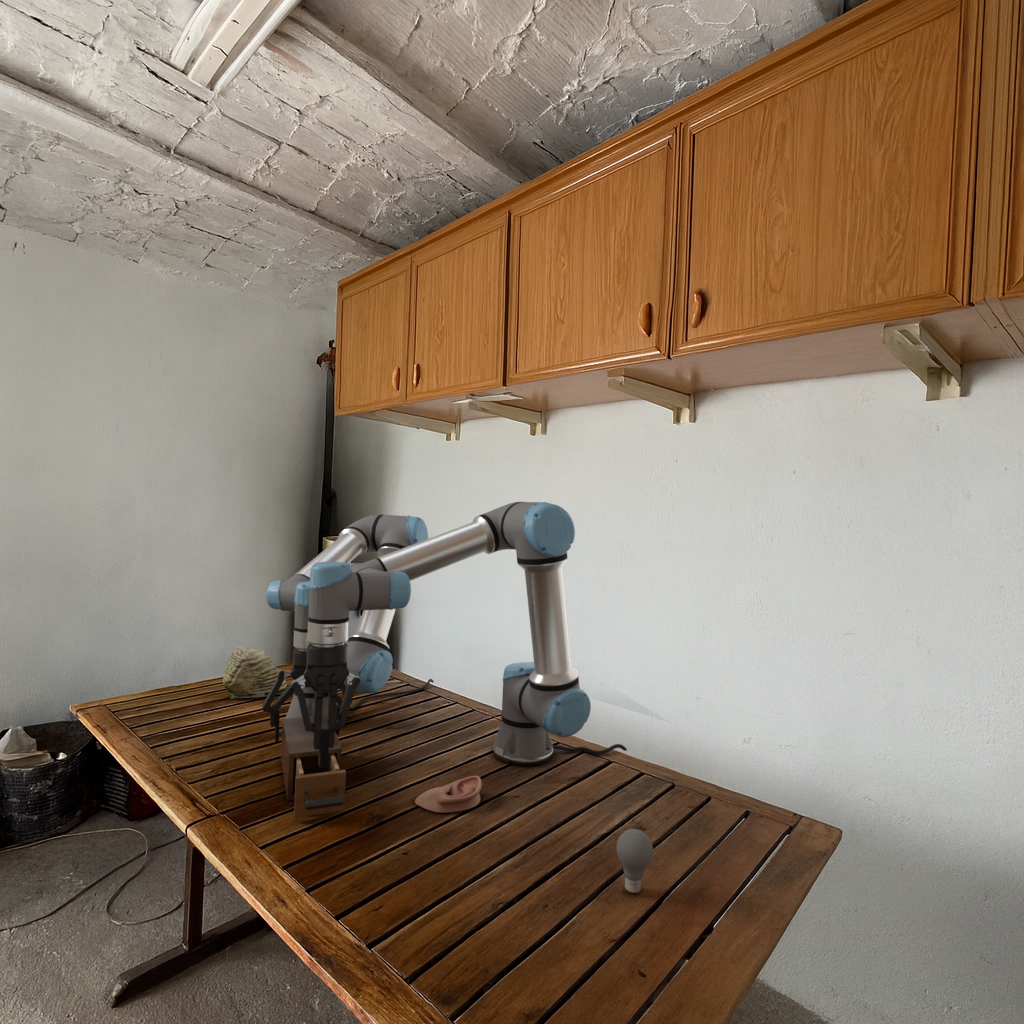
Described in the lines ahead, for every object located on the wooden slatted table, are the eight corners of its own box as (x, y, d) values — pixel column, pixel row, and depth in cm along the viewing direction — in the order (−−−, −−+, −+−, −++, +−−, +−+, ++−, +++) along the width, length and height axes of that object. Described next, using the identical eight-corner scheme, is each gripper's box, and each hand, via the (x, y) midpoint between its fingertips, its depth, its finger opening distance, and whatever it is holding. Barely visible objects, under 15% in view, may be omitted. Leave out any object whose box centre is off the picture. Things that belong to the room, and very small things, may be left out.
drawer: (349, 825, 121) (351, 785, 121) (297, 834, 117) (298, 792, 117) (331, 769, 145) (332, 735, 145) (287, 774, 141) (288, 740, 141)
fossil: (218, 695, 195) (220, 647, 195) (278, 685, 208) (279, 640, 207) (228, 703, 189) (230, 653, 188) (289, 692, 201) (290, 645, 201)
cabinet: (340, 793, 136) (342, 747, 136) (287, 800, 131) (289, 753, 131) (327, 754, 155) (328, 714, 155) (280, 759, 151) (282, 719, 151)
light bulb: (610, 879, 108) (613, 822, 108) (644, 879, 109) (647, 822, 109) (619, 902, 102) (622, 840, 102) (655, 901, 103) (658, 840, 103)
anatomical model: (409, 789, 130) (428, 766, 141) (409, 808, 130) (427, 784, 141) (472, 798, 127) (486, 774, 138) (471, 818, 127) (485, 792, 138)
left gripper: (253, 654, 141) (250, 748, 142) (366, 648, 151) (363, 736, 152) (252, 646, 148) (250, 736, 149) (360, 641, 158) (357, 725, 159)
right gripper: (293, 649, 115) (288, 777, 116) (365, 645, 121) (360, 768, 121) (290, 640, 122) (285, 761, 123) (358, 637, 127) (354, 753, 128)
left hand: (307, 736), depth 150 cm, fingers open, 13 cm apart
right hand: (323, 764), depth 122 cm, fingers closed
